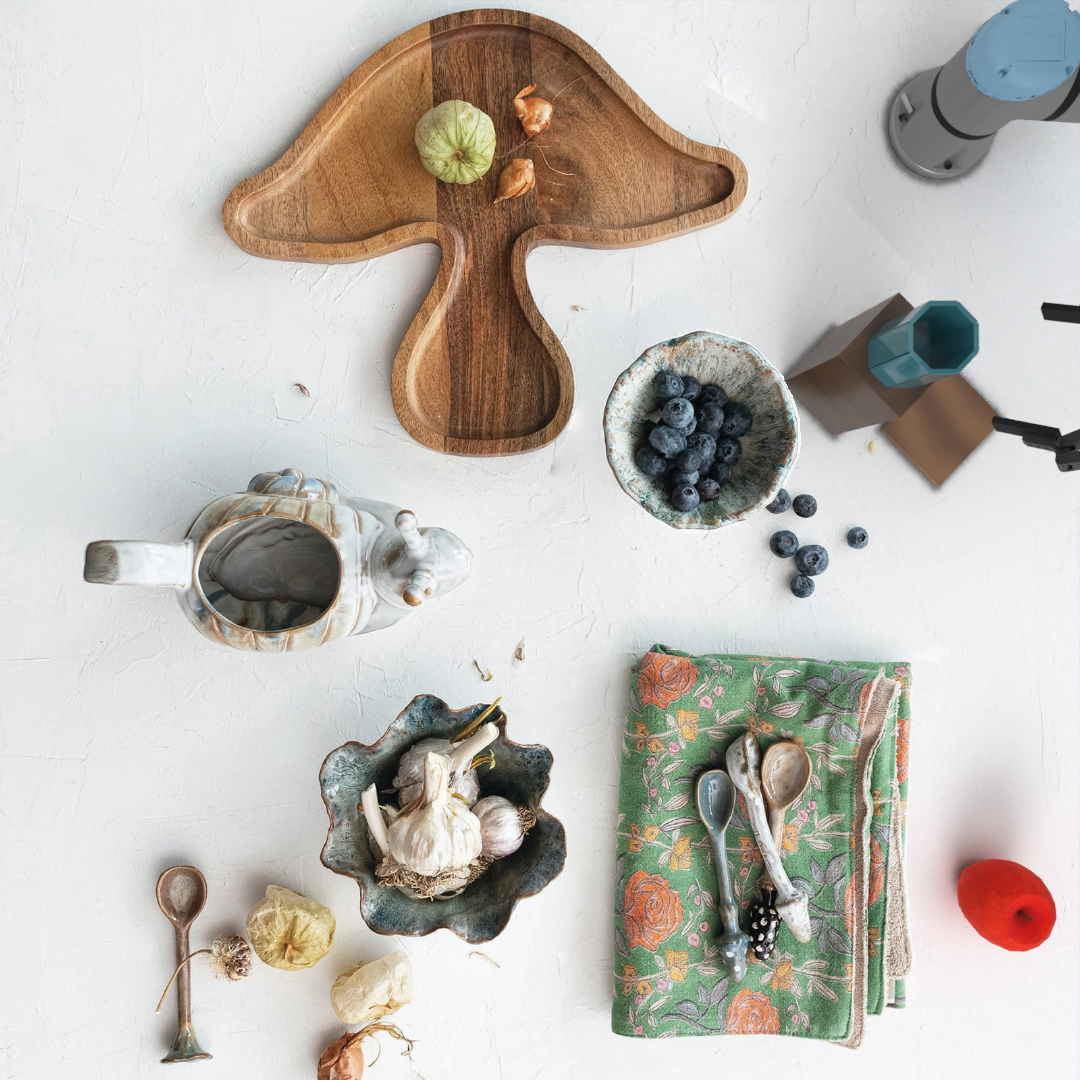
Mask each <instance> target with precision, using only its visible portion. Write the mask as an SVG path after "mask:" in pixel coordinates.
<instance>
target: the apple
mask: <svg viewBox="0 0 1080 1080" xmlns="http://www.w3.org/2000/svg"><path fill="white" fill-rule="evenodd" d="M956 894H957V903H958V907H959V908H960V911H961V913H962V915H963V917H964V918H965V919H966V921H967V922H968V923H969V924H970V925H971V926H972V928H973V930H975V932H977V934H978V935H979V936H980V937H982V938H983V939H985V940H986V941H987V942H988V943H990V944H992V945H995V946H997V947H999V948H1002V949H1003V950H1006V951H1008V952H1020V953H1024V952H1028V951H1031V950H1033V949H1037V948H1039V947H1040V946H1041V945H1042V944H1043V943H1045V942H1046V941H1047V940H1048V939H1049V938H1050V937H1051V934H1052V932H1053V929H1054V927H1055V925H1056V922H1057V908H1056V902H1055V900H1054V898H1053V895H1052V893H1051V891H1050V890H1049V888H1048V886H1047V885H1046V884H1045V882H1044V881H1043V879H1042V878H1041V877H1040V876H1039V875H1038V874H1036V873H1035V872H1033V871H1032V870H1031V869H1030V868H1027V866H1024V865H1023V864H1020V863H1018V862H1017V861H1013V860H1009V859H1000V858H987V859H982V860H979V861H976V862H973V863H971V864H969V865H967V866H966V867H965V868H964V869H963V870H962V871H961V872H960V875H959V878H958V881H957V889H956Z"/></svg>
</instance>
